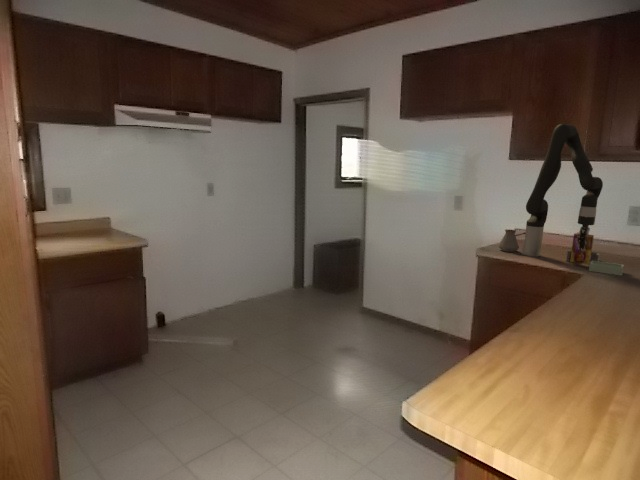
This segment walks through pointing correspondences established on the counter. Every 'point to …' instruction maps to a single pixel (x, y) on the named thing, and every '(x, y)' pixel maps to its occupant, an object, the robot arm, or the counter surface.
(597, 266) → the tray
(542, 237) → the robot arm
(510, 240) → the coffee pot
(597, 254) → the bay
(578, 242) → the candy box
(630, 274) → the counter surface
